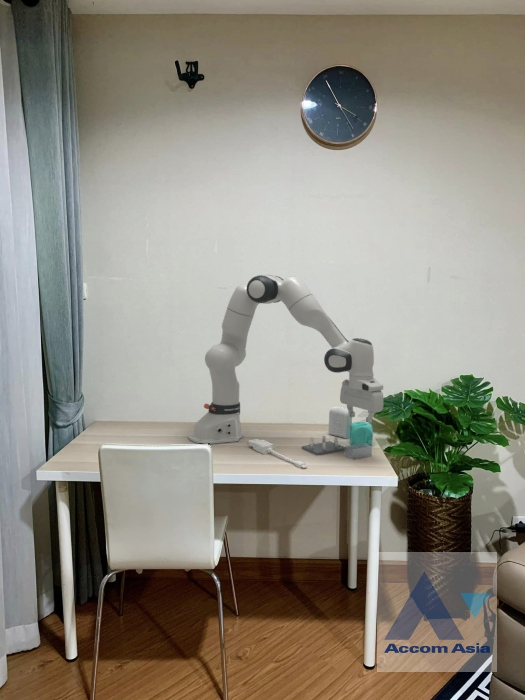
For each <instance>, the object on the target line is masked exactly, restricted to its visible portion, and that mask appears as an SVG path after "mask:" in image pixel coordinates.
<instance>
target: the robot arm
mask: <svg viewBox="0 0 525 700" xmlns="http://www.w3.org/2000/svg"><path fill="white" fill-rule="evenodd" d="M318 301H319V300H317V298H316V297H315V295H314V294H313V293H312V291H311V290H310V288H309V287H308V286H307V285H306V284H305V283H304V282H303V281H302V280H301V278H299V277H297V276H293V275H292V276H288V277H286V278H285V279H283V278H282V277H280V276H278V275H271V274H266V275H262V274H261V275H256V276H253V277H252V278H251V279H250V280H249V281H248V283H246V284H245V283H244V284H243V283H242V284H239V285H237V286H236V287H235V289H234V291H233V293H232V295H231V297H230V299H229V302H228V305H227V307H226V311H225V313H224V316H223V320H222V323H221V329H222V334H221V341H220V343H218V344H216V345H213V346H211V348H209V350H207V352H206V353H205V355H204V362H205V365H206V367H207V368H208V369H209V375H210V378H211V379H210V380H211V388H212V391H211V392H212V393H211V395H212V397H211V398H212V402H211V403H210V404H209V403H204V405H203V409H206V410H208V411H207V412H206V413H205V414H204V415H203V416H202V417H201V418H200V419H199V420H198V421H196V422H195V424H194V429H193V433H189V434H188V439H189V440H190V441H191V442H193V443H196V444H199V443H205V444H204V445H210V444H211V445H213V444H223V443H225V444H226V443H234V442H239V441H240V439H242V438H243V437H244V436H243V435H244V434H243V431H242V427H241V419H240V414H241V402H240V382H239V381H238V379H237V374H236V367H238V366H240V365H241V364H242V363H243V362H244V360H245V358H246V356H247V350H246V347H247V341H248V335H249V331H250V328H251V325H252V322H253V319H254V315H255V312H256V310H257V307H258V306H259V304H267V305H269V304H270V305H271V304H272V303H279V302H282V303H283V304H284V305H285V307H286V308H287V310H288V311H289V313H290V315H291V316H292V318H293V319H295V321H296V322H297V323H298V324H300V325H302V326H304V327H308V328H312V329H314V330H316V331H317V332H318V333H320V334H321V335H322V337H323V338H324V339H325V340H326V342H327V343H328V344H329V346H330V347H331V348H330V349H328V350H327V351H326V353H325V354H324V357H323V359H324V360H323V361H324V366H325V367H326V368H327V370H328V371H330V372H332V373H336V374H339V373H340V374H341V373H343V372H344V373H345V372H348V373H349V375H348V379H344V380H343V381H342V382H341V384H342V385H341V387H340V395H339V401H340V404H344V405H346V409H348V411H349V417H352V418H355V417H356V412H355V411H354V408H358V409H362V410H365V411H367V413H368V414H367V416H366V417H365V422H366V423H369V424H371V423H373V418H374V416H375V414H376V413H379V412H382V411H383V410H384V393H383V390H384V384H383V383H382V382H380V381H378V379H376V378H374V371H373V370H374V369H373V367H374V363H375V356H374V346H373V343H372V342H371V341H369V340H368V339H365V338H358V337H356V338H354V337H353V338H352V339H351V340H350V341H349V340H348V339H347V338H346V337H345V336H344V335H343V333H342V332H341V331H340V329H339V328H338V327H337V326H336V324H335V323H334V322H333V321H332V319H331V318H330V317H329V315H328V314H327V313H326V312H325V310H324V309H323V307H322V306H321V304H320V303H319V302H318ZM208 443H210V444H208Z"/></svg>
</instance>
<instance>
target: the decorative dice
mask: <svg viewBox="0 0 525 700" xmlns="http://www.w3.org/2000/svg"><path fill="white" fill-rule="evenodd" d="M373 431H374V429H373V426H372V424H371V423H369V422H366V421H365V422H364V421H354V422H352V424H351V425H350V438H349V441H350V444H351V445H354V444H360V443H365V444H367V445H370V446H371V444H372V443H373V438H374V432H373Z"/></svg>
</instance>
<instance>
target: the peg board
mask: <svg viewBox="0 0 525 700" xmlns="http://www.w3.org/2000/svg"><path fill="white" fill-rule="evenodd" d="M321 438H322V439H321V440H322V441H321V442H318V443H315V441H314V437H310V438H309V439H310V442H309V443H310V444H308V445H307V444H306V445H302V446H301V449H302V450H303V451H306V452H308V453H311V454H312V455H316V456H322V455H327V454H332V453H333V454H334V453H336V452H345V446H344V445H341V444H339V440H338V436H334V439H333V441H330V440H329V441H326V435H322V437H321Z"/></svg>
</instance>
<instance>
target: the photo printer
mask: <svg viewBox="0 0 525 700" xmlns="http://www.w3.org/2000/svg"><path fill="white" fill-rule="evenodd" d="M352 423H353V417H349V411H348V409H347V407H342V406H331V407H330V408H329V413H328V434H329V435H331V436H334V437H340V438H344V439H347V440H348V439H350V425H351V424H352Z"/></svg>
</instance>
